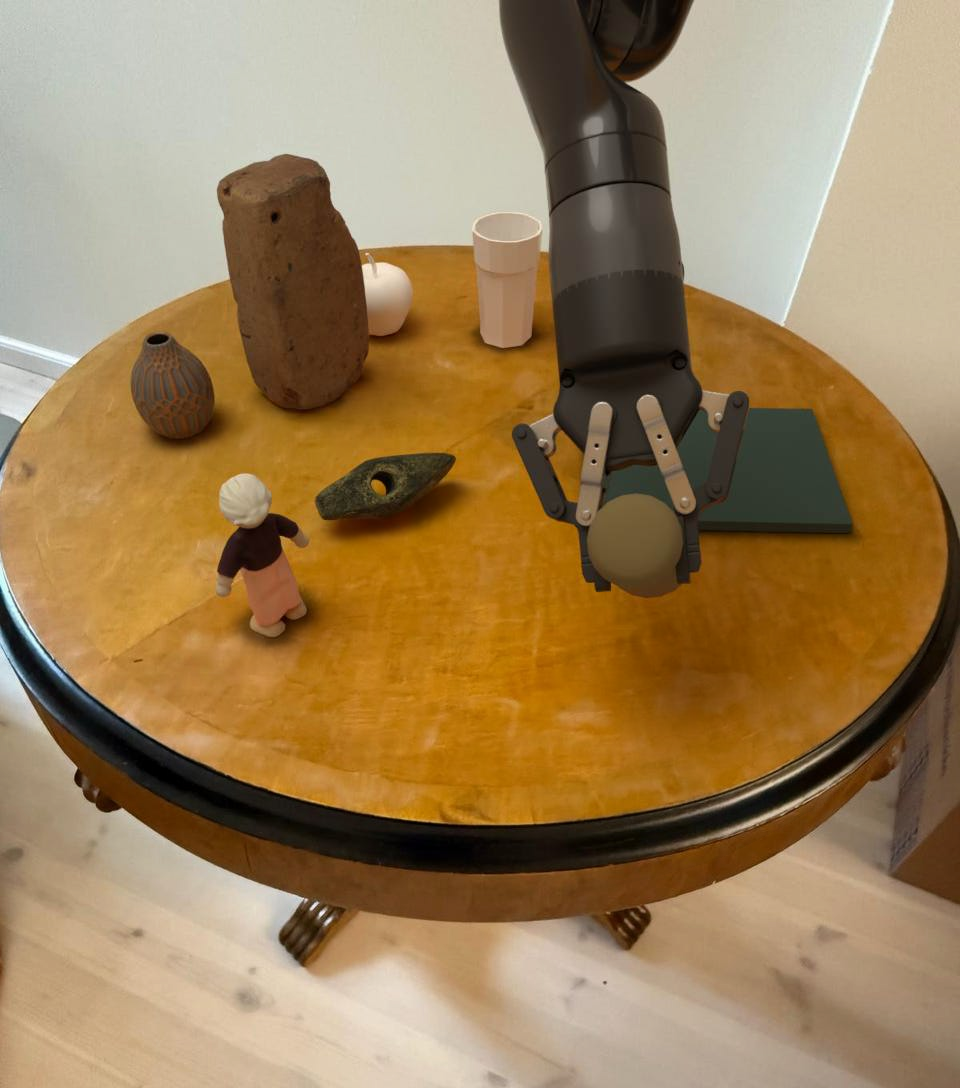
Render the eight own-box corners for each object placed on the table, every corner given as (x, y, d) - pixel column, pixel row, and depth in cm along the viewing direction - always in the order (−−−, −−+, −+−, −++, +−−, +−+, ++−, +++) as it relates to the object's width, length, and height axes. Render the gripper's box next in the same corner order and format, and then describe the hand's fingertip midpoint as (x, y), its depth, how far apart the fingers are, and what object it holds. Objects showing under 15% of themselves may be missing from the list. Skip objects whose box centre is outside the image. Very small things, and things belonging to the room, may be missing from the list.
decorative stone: (391, 563, 72) (386, 513, 68) (311, 532, 74) (302, 482, 71) (462, 485, 78) (460, 435, 75) (386, 459, 81) (381, 409, 77)
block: (290, 425, 84) (248, 199, 70) (245, 391, 88) (196, 171, 73) (384, 380, 89) (363, 161, 75) (337, 350, 93) (309, 136, 78)
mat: (809, 417, 84) (812, 408, 84) (849, 533, 74) (853, 523, 73) (589, 414, 85) (590, 404, 84) (597, 528, 74) (598, 518, 74)
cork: (615, 609, 60) (591, 609, 50) (591, 519, 61) (562, 501, 50) (708, 583, 59) (702, 578, 48) (683, 492, 59) (672, 467, 48)
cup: (460, 331, 95) (457, 224, 87) (511, 312, 98) (513, 206, 90) (499, 358, 92) (500, 249, 84) (551, 337, 94) (557, 229, 86)
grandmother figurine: (285, 579, 71) (254, 440, 61) (326, 596, 69) (301, 457, 60) (219, 644, 66) (174, 505, 57) (261, 664, 65) (222, 525, 55)
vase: (210, 397, 88) (187, 310, 81) (230, 436, 83) (209, 347, 77) (136, 416, 85) (107, 329, 79) (154, 457, 81) (125, 368, 75)
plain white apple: (335, 321, 97) (325, 245, 91) (397, 305, 99) (391, 230, 93) (362, 352, 93) (353, 275, 87) (426, 334, 95) (421, 258, 89)
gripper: (480, 292, 52) (509, 599, 52) (745, 240, 48) (775, 572, 48) (512, 331, 59) (536, 600, 59) (744, 289, 55) (770, 577, 55)
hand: (643, 585), depth 53 cm, fingers closed on cork, 4 cm apart
